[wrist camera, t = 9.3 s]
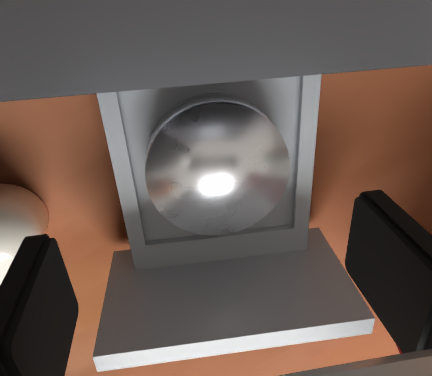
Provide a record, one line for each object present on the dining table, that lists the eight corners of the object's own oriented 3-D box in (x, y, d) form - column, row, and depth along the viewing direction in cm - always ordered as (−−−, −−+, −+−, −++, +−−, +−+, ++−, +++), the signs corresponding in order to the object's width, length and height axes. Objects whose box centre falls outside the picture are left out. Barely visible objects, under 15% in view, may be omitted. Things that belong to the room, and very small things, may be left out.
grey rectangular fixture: (117, 268, 22) (99, 376, 16) (54, 12, 15) (-22, 31, 9) (317, 244, 23) (370, 337, 17) (342, -7, 16) (448, -2, 10)
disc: (135, 100, 16) (132, 112, 14) (279, 85, 16) (291, 95, 15) (157, 222, 19) (157, 243, 17) (278, 206, 19) (288, 226, 18)
